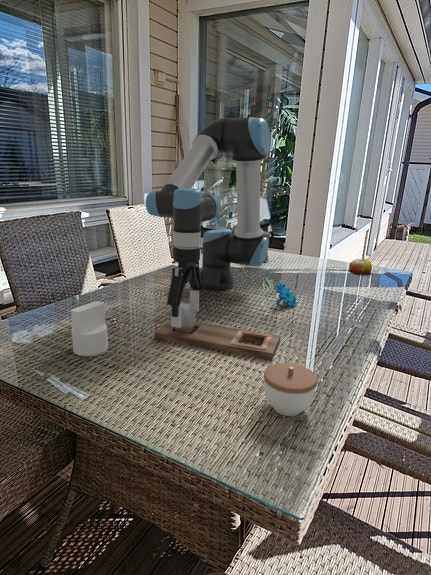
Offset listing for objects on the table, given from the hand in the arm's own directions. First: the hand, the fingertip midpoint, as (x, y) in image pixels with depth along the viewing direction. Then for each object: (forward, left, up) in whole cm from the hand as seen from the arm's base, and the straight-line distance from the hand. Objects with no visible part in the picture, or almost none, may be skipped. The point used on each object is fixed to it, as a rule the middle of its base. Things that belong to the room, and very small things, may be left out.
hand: (185, 318), depth 116 cm
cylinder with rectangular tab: (+18, -20, -6) cm, 27 cm away
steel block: (0, 0, -5) cm, 5 cm away
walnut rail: (0, +10, -5) cm, 11 cm away
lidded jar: (+26, +34, -6) cm, 43 cm away
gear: (-40, +24, -6) cm, 47 cm away
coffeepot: (-105, 0, -6) cm, 105 cm away
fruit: (-105, +50, -6) cm, 116 cm away
